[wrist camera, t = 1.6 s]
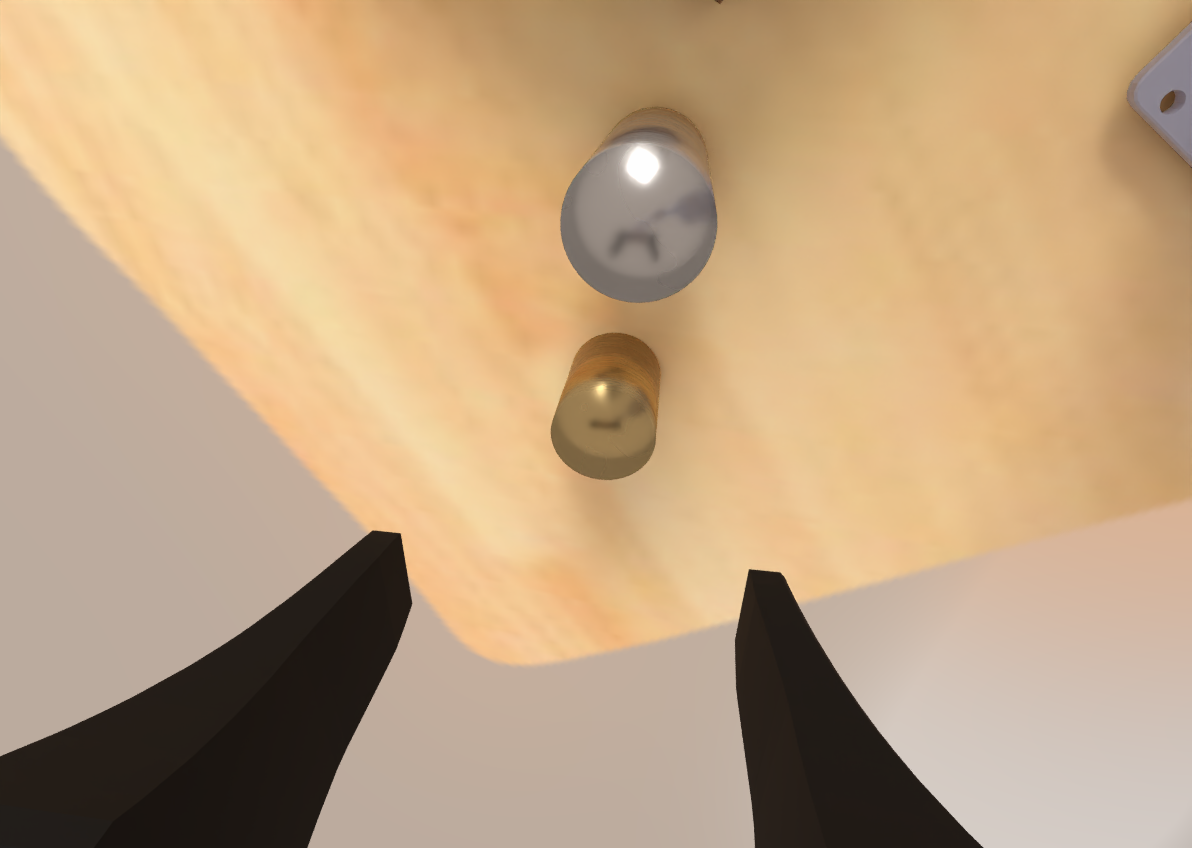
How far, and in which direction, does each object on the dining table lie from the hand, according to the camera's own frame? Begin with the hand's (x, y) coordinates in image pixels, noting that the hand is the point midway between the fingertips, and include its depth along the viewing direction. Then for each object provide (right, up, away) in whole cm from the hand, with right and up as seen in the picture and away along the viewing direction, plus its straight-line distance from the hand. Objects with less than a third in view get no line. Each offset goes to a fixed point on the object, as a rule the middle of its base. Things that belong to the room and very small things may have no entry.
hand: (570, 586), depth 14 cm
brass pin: (+1, +5, +9) cm, 10 cm away
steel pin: (+2, +11, +5) cm, 12 cm away
